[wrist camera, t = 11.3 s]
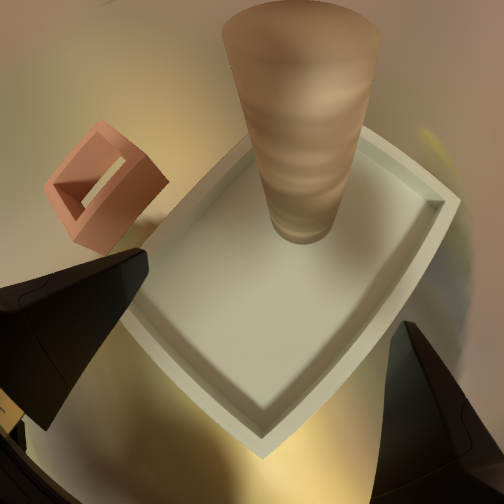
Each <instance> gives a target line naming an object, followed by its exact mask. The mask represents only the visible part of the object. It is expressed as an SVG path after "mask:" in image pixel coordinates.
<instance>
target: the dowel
mask: <svg viewBox="0 0 504 504" xmlns="http://www.w3.org/2000/svg"><path fill="white" fill-rule="evenodd" d="M222 38H223V41H224V45H225V48H226V52H227V55H228V58H229V62H230V65H231V69H232V72H233V76H234V79H235V83H236V86H237V90H238V94H239V97H240V101H241V105H242V108H243V112H244V115H245V119H246V123H247V127H248V130H249V134H250V138H251V142H252V146H253V150H254V154H255V158H256V161H257V165H258V169H259V173H260V177H261V181H262V185H263V189H264V193H265V197H266V201H267V205H268V210H269V214H270V218H271V222H272V225H273V227H274V229H275V230H276V232H277V233H278V234H279V235H280V236H281V237H282V238H283V239H285V240H287V241H289V242H291V243H294V244H299V245H308V244H312V243H316V242H318V241H320V240H321V239H323V238H324V237H325V236H326V235H327V234H328V233H329V232H330V230H331V228H332V226H333V223H334V220H335V217H336V214H337V211H338V208H339V205H340V202H341V199H342V196H343V192H344V189H345V186H346V182H347V179H348V176H349V172H350V169H351V165H352V162H353V158H354V155H355V151H356V148H357V144H358V140H359V136H360V133H361V129H362V125H363V120H364V117H365V113H366V109H367V104H368V100H369V96H370V91H371V87H372V82H373V78H374V72H375V68H376V63H377V58H378V53H379V47H380V41H381V37H380V33H379V31H378V29H377V28H376V27H375V26H374V24H372V23H371V22H370V21H369V20H368V19H366V18H365V17H363V16H362V15H360V14H358V13H356V12H354V11H352V10H350V9H347V8H344V7H341V6H338V5H334V4H331V3H326V2H320V1H311V0H283V1H274V2H269V3H264V4H260V5H257V6H254V7H251V8H248V9H246V10H244V11H242V12H240V13H238V14H236V15H235V16H233V17H232V18H231V19H230V20H229V21H228V22H227V23H226V24H225V26H224V27H223V30H222Z"/></svg>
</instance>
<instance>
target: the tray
mask: <svg viewBox="0 0 504 504" xmlns="http://www.w3.org/2000/svg"><path fill="white" fill-rule="evenodd" d="M460 202H461V200H460V199H459V198H458V197H457V196H456V195H455V194H453V193H452V192H451V191H450V190H449V189H448V188H447V187H446V186H444V185H443V184H442V183H441V182H440V181H439V180H437V179H436V178H435V177H434V176H433V175H431V174H430V173H429V172H428V171H427V170H425V169H424V168H423V167H421V166H420V165H419V164H418V163H416V162H415V161H414V160H412V159H411V158H409V157H408V156H407V155H406V154H404V153H403V152H402V151H400V150H399V149H397V148H396V147H395V146H393V145H392V144H390V143H389V142H387V141H386V140H384V139H383V138H382V137H380V136H379V135H377V134H376V133H374V132H372V131H371V130H369V129H368V128H366V127H365V126H363V125H362V129H361V133H360V136H359V140H358V144H357V148H356V151H355V155H354V158H353V162H352V165H351V169H350V172H349V176H348V179H347V182H346V186H345V189H344V192H343V196H342V199H341V202H340V205H339V208H338V211H337V214H336V217H335V220H334V223H333V226H332V228H331V230H330V232H329V233H328V234H327V235H326V236H325V237H324V238H323V239H321V240H320V241H318V242H316V243H312V244H308V245H299V244H294V243H291V242H289V241H287V240H285V239H283V238H282V237H281V236H280V235H279V234H278V233H277V232H276V230H275V229H274V227H273V225H272V222H271V218H270V214H269V210H268V205H267V201H266V197H265V193H264V189H263V185H262V181H261V177H260V173H259V169H258V165H257V161H256V158H255V154H254V150H253V146H252V142H251V138H250V134H247V135H246V136H245V137H244V138H243V139H242V140H241V141H240V142H239V143H238V144H237V145H236V146H235V147H234V148H232V149H231V150H230V151H229V152H228V153H227V154H226V155H225V156H224V157H223V158H222V159H221V160H220V161H219V162H218V163H217V164H216V165H215V166H214V167H213V168H212V169H211V170H210V171H209V172H208V173H207V174H206V175H205V176H204V177H203V178H202V179H201V180H200V181H199V183H197V184H196V186H195V187H194V188H193V189H192V190H191V191H190V192H189V193H188V194H187V195H186V196H185V197H184V198H183V199H182V200H181V201H180V202H179V204H178V205H177V206H176V207H175V208H174V209H173V210H172V211H171V212H170V213H169V215H168V216H167V217H166V218H165V219H164V220H163V221H162V222H161V224H160V225H159V226H158V227H157V228H156V229H155V231H154V232H153V233H152V234H151V235H150V236H149V237H148V239H147V240H146V241H145V242H144V243H143V245H142V246H141V247H140V249H143V250H145V251H146V252H147V255H148V263H149V273H148V276H147V277H146V279H145V281H144V282H143V284H142V286H141V287H140V289H139V290H138V292H137V294H136V295H135V297H134V299H133V301H132V302H131V304H130V305H129V307H128V308H127V310H126V311H125V312H124V314H123V315H122V317H121V318H120V319H119V320H120V321H121V323H122V324H123V325H124V326H125V328H126V329H127V330H128V331H129V333H130V334H131V335H132V336H133V337H134V339H135V340H136V341H137V342H138V343H139V345H140V346H141V347H142V348H143V349H144V350H145V352H146V353H147V354H148V355H149V356H150V357H151V358H152V359H153V361H154V362H155V363H156V364H157V365H158V366H159V367H160V368H161V369H162V370H163V371H164V372H165V374H166V375H167V376H168V377H169V378H170V379H171V380H172V381H173V382H174V383H175V384H176V385H177V386H178V387H179V388H180V389H181V390H182V391H183V392H184V393H185V394H186V395H187V396H188V397H189V398H190V399H191V400H192V401H193V402H194V403H196V404H197V405H198V406H199V407H200V408H201V409H202V410H203V411H204V412H205V413H206V414H207V415H209V416H210V417H211V418H212V419H213V420H214V421H215V422H217V423H218V424H219V425H220V426H221V427H222V428H224V429H225V430H226V431H227V432H228V433H230V434H231V435H232V436H233V437H234V438H236V439H237V440H238V441H239V442H241V443H242V444H243V445H244V446H246V447H247V448H248V449H250V450H251V451H252V452H254V453H255V454H256V455H258V456H259V457H260V458H262V459H264V458H265V457H266V456H268V455H269V454H270V453H271V452H273V451H274V450H275V449H276V448H277V447H278V446H280V445H281V444H282V443H283V442H284V441H285V440H287V439H288V438H289V437H290V436H291V435H292V434H293V433H294V432H295V431H296V430H298V429H299V428H300V427H301V426H302V425H303V424H304V423H305V422H306V421H307V420H308V419H309V418H310V417H311V416H312V415H313V414H314V413H315V412H316V411H317V410H318V409H319V408H320V407H321V406H322V405H323V404H324V403H325V402H326V401H327V400H328V399H329V398H330V397H331V396H332V395H333V394H334V393H335V392H336V390H337V389H338V388H339V387H340V386H341V385H342V384H343V383H344V382H345V380H346V379H347V378H348V377H349V376H350V375H351V374H352V372H353V371H354V370H355V369H356V368H357V367H358V365H359V364H360V363H361V362H362V361H363V359H364V358H365V357H366V356H367V354H368V353H369V352H370V351H371V349H372V348H373V347H374V345H375V344H376V343H377V342H378V340H379V339H380V338H381V336H382V335H383V334H384V332H385V331H386V330H387V328H388V327H389V325H390V324H391V323H392V321H393V320H394V318H395V317H396V316H397V314H398V313H399V311H400V310H401V308H402V307H403V305H404V304H405V302H406V301H407V299H408V298H409V296H410V295H411V293H412V292H413V290H414V288H415V287H416V285H417V284H418V282H419V280H420V279H421V277H422V275H423V274H424V272H425V270H426V269H427V267H428V265H429V263H430V262H431V260H432V258H433V256H434V254H435V253H436V251H437V249H438V247H439V245H440V243H441V241H442V239H443V237H444V235H445V234H446V232H447V230H448V227H449V225H450V223H451V221H452V219H453V217H454V215H455V213H456V211H457V208H458V206H459V204H460Z"/></svg>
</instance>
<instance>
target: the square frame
mask: <svg viewBox="0 0 504 504" xmlns="http://www.w3.org/2000/svg"><path fill="white" fill-rule="evenodd" d="M120 156H122V157H123V158H124V159H125V160H126V162H125V163H124V164H123V165H122V166H121V167H120V169H119V170H118V171H117V172H116V173H115V174H114V175H113V177H112V178H111V179H110V180H109V181H108V182H107V184H106V185H105V186H104V187H103V188H102V189H101V191H100V192H99V193H98V194H97V195H96V197H95V198H94V199H93V200H92V202H91V203H90V204H89V205H88V207H87V208H86V209H85V208H84V207H83V205H82V203H81V201H82V200H83V199H84V197H85V196H86V195H87V194H88V192H89V191H90V190H91V189H92V187H93V186H94V185H95V184H96V183H97V181H98V180H99V179H100V178H101V177H102V175H104V173H105V172H106V171H107V170H108V169H109V168H110V166H111V165H112V164H113V163H114V162H115V161H116V160H117V159H118V158H119V157H120ZM168 183H169V181H168V180H167V179H166V178H165V176H164V175H163V174H162V173H161V171H160V170H159V169H158V168H157V167H156V165H155V164H154V163H153V162H152V161H151V160H150V158H149V157H148V156H147V155H146V154H145V153H144V152H143V151H141V150H140V149H139V148H138V147H136V146H135V145H134V144H133V143H131V142H130V141H129V140H128V139H126V138H125V137H124V136H123V135H121V134H120V133H119V132H117V131H116V130H115V129H114V128H112V127H111V126H110V125H108V124H107V123H106V122H105V121H104V120H102V119H100V120H99V121H98V122H97V123H96V124H95V126H94V127H93V128H92V129H91V130H90V131H89V132H88V133H87V134H86V135H85V136H84V137H83V138H82V140H81V141H80V142H79V143H78V144H77V145H76V146H75V148H74V149H73V150H72V151H71V152H70V154H69V155H68V156H67V157H66V158H65V160H64V161H63V162H62V163H61V164H60V166H59V167H58V168H57V170H56V171H55V172H54V173H53V175H52V176H51V178H50V179H49V180H48V181H47V183H46V184H45V186H44V187H43V189H44V191H45V193H46V195H47V197H48V199H49V200H50V202H51V204H52V206H53V208H54V210H55V212H56V213H57V215H58V217H59V219H60V220H61V222H62V224H63V226H64V227H65V229H66V231H67V232H68V234H69V236H70V237H71V239H72V241H73V242H75V243H77V244H79V245H82V246H84V247H86V248H89V249H91V250H93V251H95V252H98V253H100V254H102V255H105V256H107V254H108V253H109V252H110V250H111V249H112V248H113V247H114V245H115V244H116V243H117V242H118V240H119V239H120V238H121V237H122V235H123V234H124V233H125V232H126V231H127V229H128V228H129V227H130V226H131V225H132V223H133V222H134V221H135V220H136V219H137V217H138V216H139V215H140V214H141V213H142V212H143V210H144V209H145V208H146V207H147V206H148V205H149V204H150V203H151V201H152V200H153V199H154V198H155V197H156V196H157V195H158V194H159V192H161V190H162V189H163V188H164V187H165V186H166V185H167V184H168Z"/></svg>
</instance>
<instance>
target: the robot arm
mask: <svg viewBox="0 0 504 504" xmlns="http://www.w3.org/2000/svg"><path fill="white" fill-rule="evenodd" d="M148 273H149V263H148V255H147V252H146V251H145V250H143V249H140V248H133V249H130V250H126V251H123V252H119V253H116V254H113V255H109V256H106V257H102V258H99V259H96V260H93V261H89V262H86V263H83V264H80V265H76V266H73V267H70V268H67V269H64V270H61V271H58V272H54V274H53V273H52V274H48V275H45V276H42V277H39V278H36V279H32V280H29V281H25V282H22V283H18V284H14V285H10V286H7V287H3V288H0V504H82V503H81V502H80V501H78V500H77V499H76V498H75V497H73V496H72V495H71V494H69V493H68V492H67V491H66V490H64V489H63V488H62V487H61V486H60V485H58V484H57V483H56V482H55V481H54V480H53V479H52V478H50V477H49V476H48V475H47V474H46V473H45V472H44V471H43V470H42V469H41V468H40V467H39V466H38V465H37V464H35V463H34V462H33V461H32V460H31V459H30V457H29V456H28V455H27V454H26V453H25V451H26V449H27V447H26V437H25V424H24V422H23V421H22V420H21V419H22V418H23V416H24V415H25V414H26V415H27V416H29V417H30V418H31V419H32V420H33V421H34V422H35V423H36V424H37V425H39V426H40V427H41V428H42V429H43V430H44V431H47V430H48V428H49V427H50V425H51V423H52V422H53V420H54V418H55V416H56V415H57V413H58V411H59V410H60V408H61V406H62V405H63V403H64V401H65V400H66V398H67V397H68V395H69V393H70V392H71V390H72V388H73V387H74V385H75V384H76V382H77V381H78V379H79V377H80V376H81V374H82V373H83V371H84V370H85V368H86V367H87V365H88V364H89V362H90V361H91V359H92V358H93V356H94V355H95V353H96V352H97V350H98V349H99V348H100V346H101V345H102V343H103V342H104V340H105V339H106V338H107V336H108V335H109V333H110V332H111V330H112V329H113V328H114V326H115V325H116V323H117V322H118V321H119V319H120V318H121V317H122V315H123V314H124V312H125V311H126V310H127V308H128V307H129V305H130V304H131V302H132V301H133V299H134V297H135V295H136V294H137V292H138V290H139V289H140V287H141V286H142V284H143V282H144V281H145V279H146V277H147V276H148ZM369 504H504V454H503V452H502V451H501V450H500V448H499V446H498V445H497V444H496V442H495V440H494V439H493V437H492V436H491V434H490V433H489V432H488V430H487V429H486V427H485V426H484V424H483V423H482V421H481V420H480V418H479V417H478V415H477V413H476V412H475V410H474V409H473V407H472V406H471V404H470V402H469V401H468V399H467V398H466V396H465V394H464V393H463V391H462V390H461V388H460V386H459V385H458V383H457V382H456V380H455V379H454V377H453V376H452V374H451V373H450V371H449V370H448V368H447V367H446V365H445V364H444V363H443V361H442V360H441V358H440V357H439V355H438V354H437V353H436V351H435V350H434V348H433V347H432V346H431V344H430V343H429V341H428V340H427V339H426V337H425V336H424V335H423V333H422V332H421V331H420V329H419V328H418V327H417V325H416V324H415V323H414V322H411V321H406V320H404V321H402V322H401V323H400V325H399V327H398V328H397V330H396V332H395V333H394V335H393V337H392V339H391V342H390V350H389V358H388V366H387V374H386V381H385V395H384V410H383V422H382V432H381V441H380V449H379V456H378V462H377V469H376V474H375V480H374V485H373V490H372V495H371V499H370V503H369Z"/></svg>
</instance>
